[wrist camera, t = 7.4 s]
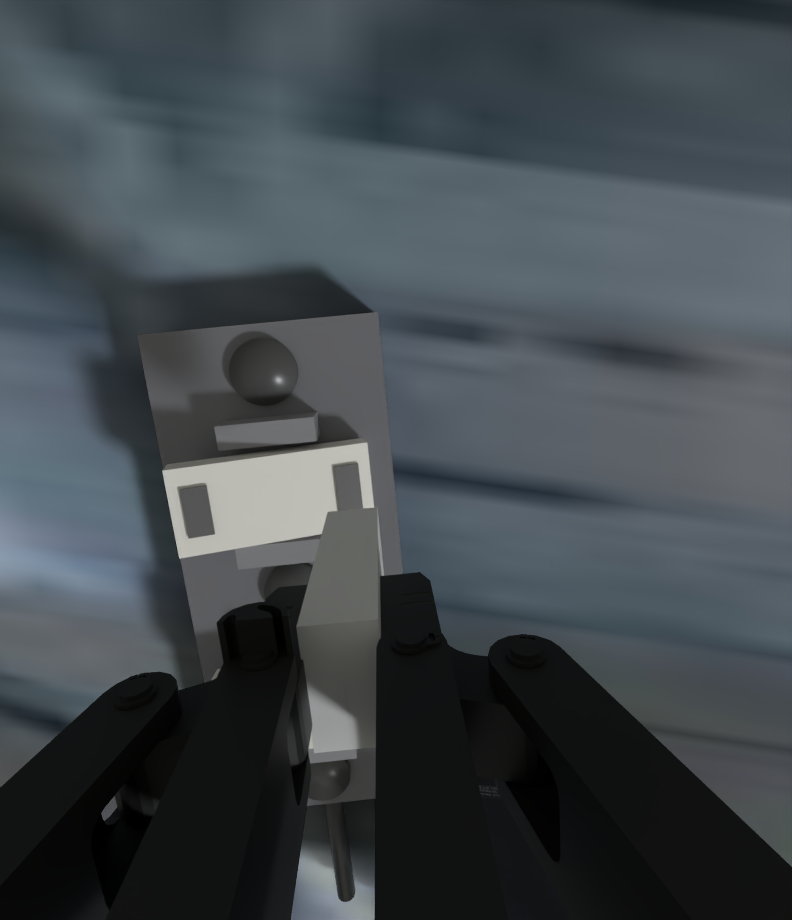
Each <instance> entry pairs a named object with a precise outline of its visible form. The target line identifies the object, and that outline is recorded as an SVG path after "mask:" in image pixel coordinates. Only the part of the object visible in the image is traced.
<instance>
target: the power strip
mask: <svg viewBox="0 0 792 920" xmlns="http://www.w3.org/2000/svg"><path fill="white" fill-rule="evenodd" d="M137 338H138V343H139V348H140V353H141V358H142V364H143V369H144V374H145V379H146V384H147V389H148V395H149V400H150V405H151V410H152V415H153V421H154V426H155V431H156V436H157V441H158V446H159V452H160V457H161V462H162V467H163V469H164V468H165V466H166V465H167V464H174V463H181V462H188V461H196V460H203V459H210V458H218V457H225V456H233V455H240V454H247V453H255V452H262V451H269V450H277V449H284V448H291V447H299V446H306V445H314V444H321V443H328V442H336V441H343V440H350V439H358V438H363V439H364V440H365V441H366V442H367V444H368V454H369V463H370V473H371V482H372V491H373V501H374V507H377V508H378V518H379V528H380V538H381V548H382V559H383V569H384V576H386V575H397V574H403V568H402V558H401V547H400V537H399V527H398V516H397V506H396V496H395V485H394V475H393V465H392V454H391V444H390V434H389V423H388V413H387V403H386V392H385V382H384V372H383V361H382V351H381V340H380V330H379V320H378V312H373V313H362V314H351V315H341V316H330V317H319V318H309V319H298V320H288V321H277V322H266V323H256V324H245V325H234V326H224V327H213V328H203V329H192V330H181V331H171V332H160V333H149V334H139V335H137ZM321 535H322V534H319V535H314V536H308V537H302V538H296V539H290V540H285V541H279V542H273V543H267V544H261V545H256V546H250V547H244V548H238V549H232V550H227V551H221V552H215V553H209V554H204V555H198V556H192V557H186V558H180V560H181V565H182V570H183V576H184V581H185V586H186V591H187V596H188V601H189V607H190V612H191V617H192V622H193V627H194V633H195V638H196V643H197V648H198V653H199V658H200V664H201V669H202V674H203V679H204V683H205V682H208V681H211V679H212V678H213V676H214V674H215V672H216V671H217V669H221V667H222V665H223V657H222V652H221V646H220V641H219V635H218V630H217V624H216V623H217V621H218V620H219V619H220V618H221V617H222V616H223V615H224V614H226V613H228V612H229V611H231V610H233V609H235V608H238V607H241V606H243V605H246V604H251V603H257V602H265V600H266V598H267V597H268V596H269V595H270V594H271V593H273V592H274V591H275V590H276V589H277V588H278V587H286V586H297V585H307V584H308V582H309V579H310V575H311V571H312V568H313V564H314V560H315V557H316V553H317V549H318V546H319V542H320V538H321ZM308 752H309V759H310V766H311V781H310V788H309V795H308V802H307V806H312V805H321V804H325V810H326V817H327V824H328V831H329V838H330V844H331V851H332V858H333V865H334V872H335V879H336V885H337V892H338V897H339V899H340V900H341V901H343V902H347V901H350V900H351V899H352V898H353V897H354V895H355V886H354V879H353V872H352V864H351V857H350V850H349V842H348V835H347V828H346V820H345V813H344V806H343V802H348V801H357V800H366V799H375V788H376V747H372V748H362V749H352V750H342V751H332V752H322V753H314V749H308Z"/></svg>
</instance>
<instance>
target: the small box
mask: <svg viewBox="0 0 792 920" xmlns="http://www.w3.org/2000/svg"><path fill="white" fill-rule="evenodd" d="M477 780H478V784H479V789H480V793H481V798H482V802H483V807H484V811H485V816H486V820H487V825H488V829H489V834H490V838H491V843H492V847H493V852H494V856H495V861H496V866H497V870H498V875H499V879H500V884H501V888H502V893H503V897H504V902H505V906H506V911H507V915H508V920H571V918H570V916H569V914H568V913H567V911H566V909H565V907H564V906H563V904H562V902H561V900H560V899H559V897H558V895H557V893H556V892H555V890H554V888H553V886H552V885H551V883H550V881H549V879H548V878H547V876H546V874H545V872H544V871H543V869H542V867H541V866H540V864H539V862H538V860H537V859H536V857H535V855H534V853H533V852H532V850H531V848H530V846H529V845H528V843H527V841H526V839H525V838H524V836H523V834H522V832H521V831H520V829H519V827H518V825H517V824H516V822H515V820H514V818H513V817H512V815H511V813H510V812H509V810H508V808H507V806H506V805H505V803H504V801H503V799H502V798H501V796H500V794H499V792H498V790H497V787H496V783H495V779H491V778H485V777H480V776H477Z"/></svg>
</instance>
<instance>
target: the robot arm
mask: <svg viewBox="0 0 792 920" xmlns="http://www.w3.org/2000/svg"><path fill="white" fill-rule="evenodd" d="M216 624H217V630H218V635H219V641H220V646H221V652H222V657H223V665H222V667H221V669H220V671H219V673H218V676H217V678H215V679H214V680H211V681H208V682H205V683H203V684H199V685H196V686H192V687H189V688H186V689H182V690H178V686H177V681H176V679H175V678H174V677H173V676H172V675H171V674H167V673H163V672H151V673H142V674H139V675H138V674H137V675H134V676H131V677H129V678H128V679H126V680H124V681H122V682H119V683H117V684H116V685H114V686H113V687H111V688H110V689H109V690H107V691H106V692H104V693H103V694H102V695H101V696H100V697H99V698H98V699H97V700H96V701H95V702H93V703H92V704H91V705H90V706H89V707H88V708H87V709H86V710H85V711H84V712H82V713H81V714H80V715H79V716H78V717H77V718H76V719H75V720H74V721H73V722H72V723H70V724H69V725H68V726H67V727H66V728H65V729H64V730H63V731H62V732H61V733H60V734H58V735H57V736H56V737H55V738H54V739H53V740H52V741H51V742H50V743H49V744H47V745H46V746H45V747H44V748H43V749H42V750H41V751H40V752H39V753H38V754H37V755H35V756H34V757H33V758H32V759H31V760H30V761H29V762H28V763H27V764H26V765H25V766H23V767H22V768H21V769H20V770H19V771H18V772H17V773H16V774H15V775H14V776H12V777H11V778H10V779H9V780H8V781H7V782H6V783H5V784H4V785H3V786H2V787H0V920H291V913H292V906H293V899H294V892H295V885H296V878H297V871H298V864H299V857H300V850H301V843H302V836H303V830H304V823H305V816H306V809H307V802H308V795H309V788H310V781H311V766H310V759H309V752H308V749H309V743H310V737H311V734H312V741H313V748H314V753H322V752H332V751H342V750H352V749H362V748H372V747H376V788H375V920H508V915H507V911H506V906H505V902H504V897H503V893H502V888H501V884H500V879H499V875H498V870H497V866H496V861H495V856H494V852H493V847H492V843H491V838H490V834H489V829H488V825H487V820H486V816H485V811H484V807H483V802H482V798H481V793H480V789H479V784H478V780H477V776H480V777H485V778H491V779H495V783H496V787H497V790H498V792H499V794H500V796H501V798H502V799H503V801H504V803H505V805H506V806H507V808H508V810H509V812H510V813H511V815H512V817H513V818H514V820H515V822H516V824H517V825H518V827H519V829H520V831H521V832H522V834H523V836H524V838H525V839H526V841H527V843H528V845H529V846H530V848H531V850H532V852H533V853H534V855H535V857H536V859H537V860H538V862H539V864H540V866H541V867H542V869H543V871H544V872H545V874H546V876H547V878H548V879H549V881H550V883H551V885H552V886H553V888H554V890H555V892H556V893H557V895H558V897H559V899H560V900H561V902H562V904H563V906H564V907H565V909H566V911H567V913H568V914H569V916H570V918H571V920H792V867H791V866H790V865H789V864H788V863H787V862H786V861H785V860H784V859H783V858H782V857H781V856H780V855H779V854H778V853H776V852H775V851H774V850H773V849H772V848H771V847H770V846H769V845H768V844H767V843H766V842H765V841H764V840H763V839H762V838H761V837H760V836H759V835H758V834H756V833H755V832H754V831H753V830H752V829H751V828H750V827H749V826H748V825H747V824H746V823H745V822H744V821H743V820H742V819H741V818H740V817H739V816H738V815H736V814H735V813H734V812H733V811H732V810H731V809H730V808H729V807H728V806H727V805H726V804H725V803H724V802H723V801H722V800H721V799H720V798H719V797H718V796H716V795H715V794H714V793H713V792H712V791H711V790H710V789H709V788H708V787H707V786H706V785H705V784H704V783H703V782H702V781H701V780H700V779H699V778H698V777H696V776H695V775H694V774H693V773H692V772H691V771H690V770H689V769H688V768H687V767H686V766H685V765H684V764H683V763H682V762H681V761H680V760H679V759H678V758H676V757H675V756H674V755H673V754H672V753H671V752H670V751H669V750H668V749H667V748H666V747H665V746H664V745H663V744H662V743H661V742H660V741H659V740H658V739H656V738H655V737H654V736H653V735H652V734H651V733H650V732H649V731H648V730H647V729H646V728H645V727H644V726H643V725H642V724H641V723H640V722H639V721H637V720H636V719H635V718H634V717H633V716H632V715H631V714H630V713H629V712H628V711H627V710H626V709H625V708H624V707H623V706H622V705H621V704H620V703H619V702H617V701H616V700H615V699H614V698H613V697H612V696H611V695H610V694H609V693H608V692H607V691H606V690H605V689H604V688H603V687H602V686H601V685H600V684H599V683H597V682H596V681H595V680H594V679H593V678H592V677H591V676H590V675H589V674H588V673H587V672H586V671H585V670H584V669H583V668H582V667H581V666H580V665H579V664H577V663H576V662H575V661H574V660H573V659H572V658H571V657H570V656H569V655H568V654H567V653H566V652H565V651H564V650H563V649H562V648H561V647H559V646H558V645H556V644H555V643H553V642H552V641H550V640H548V639H545V638H542V637H539V636H535V635H527V634H520V635H514V636H508V637H505V638H503V639H500V640H498V641H497V642H495V643H494V644H493V645H492V646H491V647H490V650H489V654H488V656H479V655H472V654H467V653H464V652H461V651H458V650H456V649H454V648H452V647H451V646H449V645H448V644H447V640H446V639H445V637H444V635H443V634H442V633H441V629H440V624H439V620H438V615H437V610H436V606H435V602H434V596H433V592H432V587H431V583H430V580H429V579H427V578H426V577H425V576H424V575H422V574H421V573H420V572H418V573H408V574H397V575H386V576H384V569H383V559H382V548H381V538H380V528H379V518H378V508H377V507H374V508H363V509H353V510H342V511H331V512H328V513H327V516H326V520H325V524H324V527H323V531H322V535H321V538H320V542H319V546H318V549H317V553H316V557H315V560H314V564H313V568H312V571H311V575H310V579H309V582H308V584H307V585H297V586H286V587H278V588H277V589H276V590H275V591H274V592H273V593H271V594H270V595H269V596H268V597H267V598H266V600H265V602H257V603H251V604H246V605H243V606H241V607H238V608H235V609H233V610H231V611H229V612H228V613H226V614H224V615H223V616H222V617H221V618H220V619H219V620H218V621H217V623H216ZM114 796H115V799H116V803H117V808H116V810H115V811H114V812H113V813H112V815H111V816H110V817H109V818H108V819H106V820H105V821H104V820H103V819H102V815H101V812H102V811H103V809H104V808H105V806H106V805H107V804H108V803H109V802H110V800H111V799H112V798H113V797H114Z"/></svg>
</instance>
